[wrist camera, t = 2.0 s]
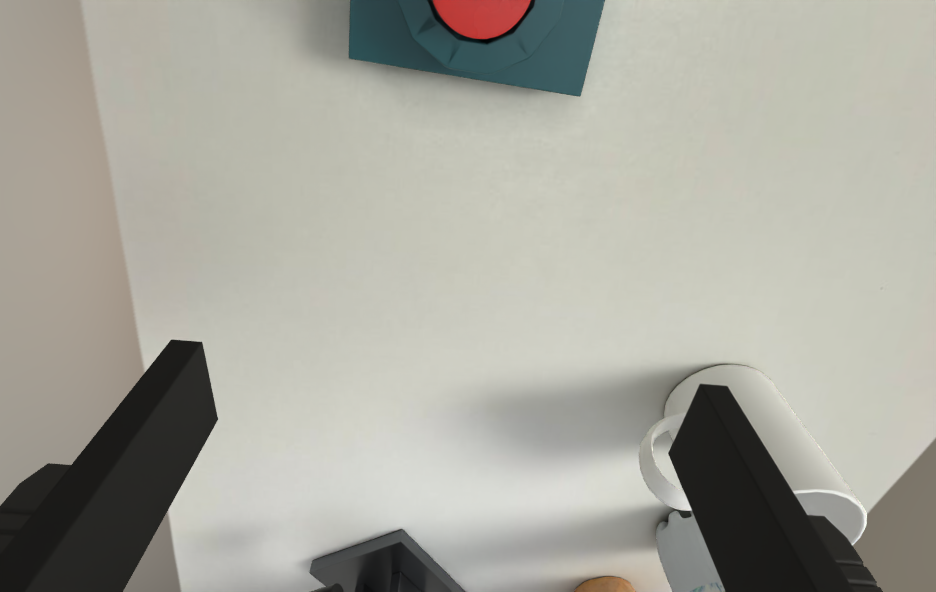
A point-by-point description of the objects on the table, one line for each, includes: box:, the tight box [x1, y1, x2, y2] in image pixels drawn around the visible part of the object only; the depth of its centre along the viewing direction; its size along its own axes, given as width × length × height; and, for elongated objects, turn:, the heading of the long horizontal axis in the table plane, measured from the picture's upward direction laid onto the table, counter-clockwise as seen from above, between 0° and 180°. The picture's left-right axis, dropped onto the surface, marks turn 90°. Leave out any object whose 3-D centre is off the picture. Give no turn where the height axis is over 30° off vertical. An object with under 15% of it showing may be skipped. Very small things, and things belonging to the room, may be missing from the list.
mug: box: [639, 364, 867, 546], centre depth 34 cm, size 12×8×10 cm, turn 74°
